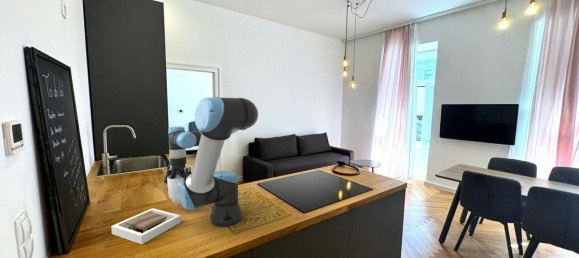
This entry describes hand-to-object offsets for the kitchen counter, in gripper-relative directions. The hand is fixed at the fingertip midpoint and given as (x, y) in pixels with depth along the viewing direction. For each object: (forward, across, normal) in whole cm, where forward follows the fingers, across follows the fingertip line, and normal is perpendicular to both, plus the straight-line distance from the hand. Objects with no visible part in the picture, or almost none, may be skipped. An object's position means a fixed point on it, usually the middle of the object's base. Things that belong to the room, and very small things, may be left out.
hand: (180, 198), depth 121 cm
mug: (+2, 0, 0) cm, 2 cm away
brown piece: (+7, +1, +18) cm, 19 cm away
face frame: (+7, +1, +18) cm, 19 cm away
